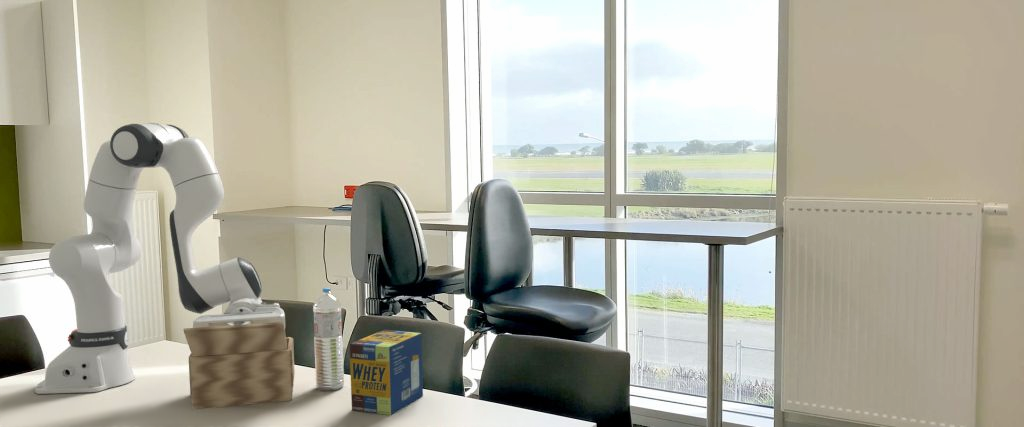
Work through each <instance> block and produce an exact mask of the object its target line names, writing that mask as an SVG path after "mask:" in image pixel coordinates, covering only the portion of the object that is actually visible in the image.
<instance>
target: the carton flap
mask: <svg viewBox="0 0 1024 427" xmlns="http://www.w3.org/2000/svg"><path fill="white" fill-rule="evenodd" d="M182 331H183V334H184V336H185V340H186V342H187V345H188V348H189V350H190V354H192V356H193V357H194V356H208V355H221V354H235V353H248V352H262V351H275V350H287V344H286V338H287V336H286V328H285V329H284V322H276V323H261V324H245V325H230V326H215V327H200V328H193V327H189V328H183V330H182Z"/></svg>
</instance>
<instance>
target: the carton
mask: <svg viewBox="0 0 1024 427" xmlns="http://www.w3.org/2000/svg"><path fill="white" fill-rule="evenodd" d="M286 344H287V350H275V351H262V352H248V353H235V354H221V355H208V356H194V357H193V356H192V354H191V353H190V355H189V356H188V371H189V372H188V374H189V376H188V377H189V394H190V397H191V404H192V405H191V407H192V410H199V409H201V410H202V409H208V408H209V409H211V408H220V407H233V406H243V405H245V406H246V405H255V404H266V403H277V402H278V403H279V402H289V401H292V400H293V392H294V381H295V374H296V373H295V371H296V370H295V354H294V353H295V350H294V349H295V348H294V346H295V345H294V338H293V337H292V336H291V337H290V336H288V337H286Z"/></svg>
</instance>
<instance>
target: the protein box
mask: <svg viewBox="0 0 1024 427" xmlns="http://www.w3.org/2000/svg"><path fill="white" fill-rule="evenodd" d="M422 338H423V336H422V333H421V332H414V331H413V332H412V331H401V330H392V329H382V330H380V331H378V332H376V333H373V334H370V335H368V336H366V337H363V338H360V339H358V340H356V341H355V340H354V341H353V342H351V343H349V366H350V369H349V370H350V396H351V411H354V412H355V411H356V412H361V411H362V412H363V413H364V412H365V413H371V414H378V415H379V414H380V415H385V416H386V415H387V416H392V415H393V414H395V413H396V412H398V411H401V409H404V408H406V406H408V405H411V404H412V403H413V402H416V401H417V400H419V399H420V398H422V397H424V389H423V388H424V387H423V386H424V385H423V384H424V382H423V379H424V378H423V348H422V346H423V344H422V343H423V342H422V341H423V339H422Z"/></svg>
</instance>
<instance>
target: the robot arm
mask: <svg viewBox="0 0 1024 427" xmlns="http://www.w3.org/2000/svg"><path fill="white" fill-rule="evenodd" d="M159 167H161V168H163V169H164V170H166V172H167V173H168V175H169V178H170V180H171V183H172V186H173V188H174V191H175V206H174V209H172V210H171V212H169V231H170V232H169V233H170V237H171V239H170V240H171V244H172V250H173V257H174V262H175V263H174V264H175V269H176V276H177V286H178V288H177V289H178V297H179V301H180V303H181V304H182V306H183V308H184V310H186V311H188V312H192V313H195V314H204V313H206V312H207V311H211V310H213V309H214V308H215V307H218V306H221V305H224V304H226V303H229V304H228V306H227V307H226V309H225V310H224V312H223V313H220V314H219V313H218V314H217V313H216V314H207V315H206V314H205V315H201V316H198V317H196V318H195V319H193V321H192V328H200V327H215V326H230V325H245V324H261V323H276V322H284V329H285V330H286V315H285V314H286V313H285V311H284V309H283V308H281V306H280V303H278V302H267V301H266V302H265V301H263V300H262V298H261V297H260V296H261V294H262V290H263V287H262V283H261V280H260V276H259V274H258V272H257V270H256V269H255V267H254V265H253V264H252V263H251V262H250V261H248V260H246V259H244V258H242V257H235V258H231V259H229V260H226V261H224V262H221V263H218V264H215V265H213V266H211V267H207V268H205V269H202V270H197V269H196V264H195V259H194V253H193V246H192V237H193V236H192V235H193V234H194V232H195V231H196V229H197V228H199V226H200V225H201V224H202V223H204V222H205V221H206V220H207V219H208V218H210V217H211V216H212V215H213V214H215V212H216V211H218V210H219V208H220V206H221V205H222V203H223V201H224V198H225V189H224V185H223V181H222V178H221V176H220V173H219V171H218V168H217V165H216V163H215V161H214V159H213V157H212V155H211V154H210V152H209V150H208V149H207V147H206V145H205V144H204V142H202V140H201V139H199V138H195V137H190V136H189V134H187V132H186V131H184V130H183V129H182V128H180V127H178V126H176V125H173V124H164V123H163V124H162V123H159V122H158V123H155V122H148V123H129V124H125V125H122V126H120V127H119V128H117V129H116V130H115V131H114V132H113V133H112V136H111V138H110V140H107V141H105V142H103V143H102V144H101V145H100V147H99V149H98V151H97V153H96V156H95V158H94V161H93V163H92V166H91V170H90V174H89V178H88V181H87V182H88V183H87V186H86V192H85V196H84V200H83V210H84V211H85V213H86V214H87V215H88V216H89V217H91V221H92V224H91V225H92V229H91V232H90V233H89V234H81V235H73V236H70V237H68V238H65V239H63V240H61V241H58V242H57V243H55V244H53V246H52V247H51V249H50V251H49V253H48V254H49V255H48V263H49V266H50V267H49V268H51V271H52V272H53V273H54V275H56V276H57V277H58V278H61V280H62V281H64V282H65V284H66V286H67V287H68V289H69V291H70V293H71V295H72V299H73V302H74V310H75V318H76V319H75V320H76V328H75V329H73V330H72V331H70V332H71V333H70V334H69V335H68V337H67V342H69V344H68V345H69V346H68V347H67V348H65V349H64V350H63V351H62V352H61V353H59V354H58V355H57V356H56V357H55V358H54V359H52V360H51V361H50V362H49V363H48V365H47V367H46V370H45V376H44V380H42V381H40V382H39V383H37V385H35V388H34V392H35V393H36V394H38V395H39V394H40V395H41V394H43V395H44V394H46V395H47V394H74V393H97V392H100V391H103V390H107V389H110V388H114V387H118V386H123V385H125V384H128V383H130V382H132V381H134V380H135V378H136V377H135V374H134V372H133V369H132V366H131V362H130V357H129V352H128V347H129V332H128V326H127V325H126V322H125V321H126V320H125V302H124V301H125V300H124V297H123V295H122V294H121V293H120V292H118V291H117V290H115V289H114V288H113V286H112V283H111V281H110V278H109V274H113V273H115V274H116V273H120V272H123V271H124V270H127V269H129V268H130V267H132V266H134V265H135V264H136V263H138V261H139V260H140V258H141V256H142V246H141V243H140V240H139V239H138V238H137V237H136V235H135V234H134V231H133V226H132V213H133V208H134V202H135V198H136V192H137V187H138V184H139V178H140V174H142V173H141V172H142V171H143V170H144V169H145V168H149V169H154V168H155V169H156V168H159Z"/></svg>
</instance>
